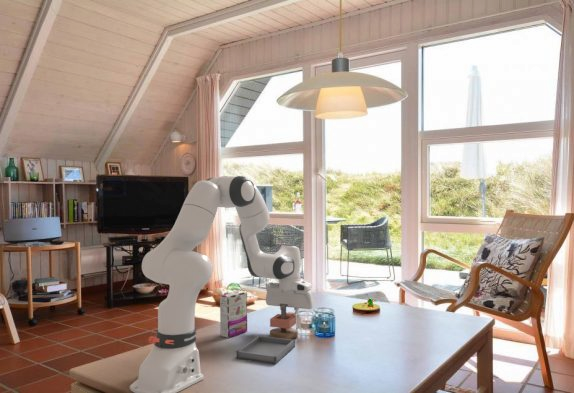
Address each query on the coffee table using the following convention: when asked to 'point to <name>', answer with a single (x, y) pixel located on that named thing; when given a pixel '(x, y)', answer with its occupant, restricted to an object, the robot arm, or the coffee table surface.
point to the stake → (283, 332)
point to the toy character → (370, 302)
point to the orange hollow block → (283, 321)
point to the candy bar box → (233, 314)
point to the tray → (266, 349)
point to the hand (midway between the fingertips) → (289, 317)
